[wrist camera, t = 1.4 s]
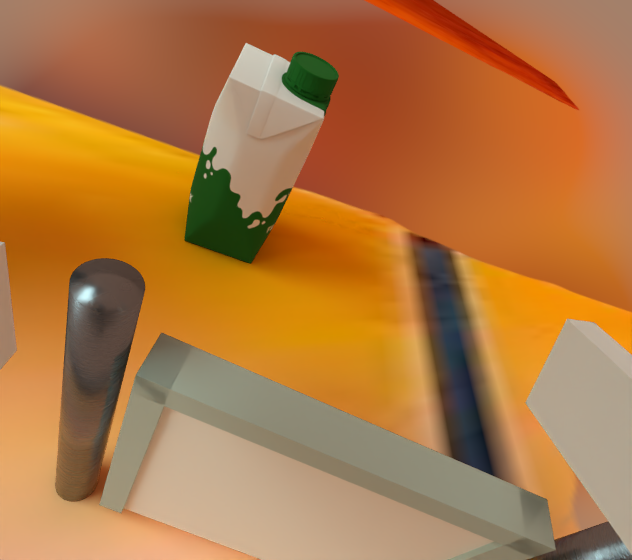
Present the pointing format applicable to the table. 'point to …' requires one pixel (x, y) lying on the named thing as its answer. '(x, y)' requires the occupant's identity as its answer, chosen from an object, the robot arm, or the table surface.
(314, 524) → the beige framed panel
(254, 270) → the table surface
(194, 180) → the milk carton
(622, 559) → the posts
